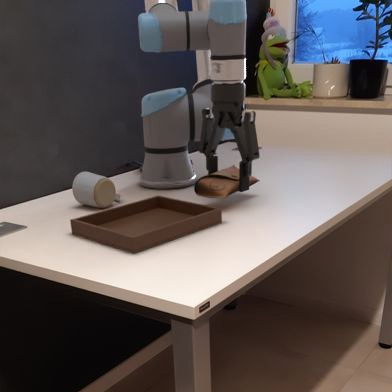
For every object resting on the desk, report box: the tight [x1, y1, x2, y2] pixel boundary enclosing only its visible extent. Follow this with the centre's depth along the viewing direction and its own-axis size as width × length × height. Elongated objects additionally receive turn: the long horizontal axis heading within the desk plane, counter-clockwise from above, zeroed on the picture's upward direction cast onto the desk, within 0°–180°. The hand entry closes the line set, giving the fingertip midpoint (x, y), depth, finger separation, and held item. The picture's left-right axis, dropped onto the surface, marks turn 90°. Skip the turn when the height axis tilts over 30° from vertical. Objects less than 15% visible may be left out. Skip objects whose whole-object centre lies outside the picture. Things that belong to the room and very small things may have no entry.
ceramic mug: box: [71, 171, 121, 209], centre depth 129 cm, size 11×8×8 cm
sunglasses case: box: [193, 164, 260, 199], centre depth 127 cm, size 18×7×7 cm, turn 148°
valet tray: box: [69, 195, 223, 254], centre depth 112 cm, size 20×25×3 cm
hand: (228, 187), depth 128 cm, fingers closed on sunglasses case, 9 cm apart
